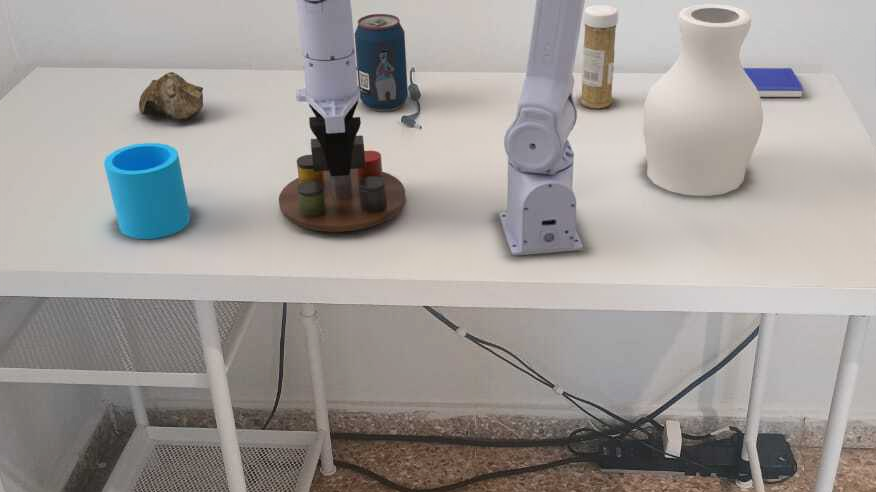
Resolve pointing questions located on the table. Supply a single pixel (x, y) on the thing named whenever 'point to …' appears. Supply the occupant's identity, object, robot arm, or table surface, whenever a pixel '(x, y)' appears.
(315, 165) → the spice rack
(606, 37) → the sprinkles bottle
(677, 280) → the table surface
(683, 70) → the vase
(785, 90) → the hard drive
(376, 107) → the soda can
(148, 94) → the fossilized seashell
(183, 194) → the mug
